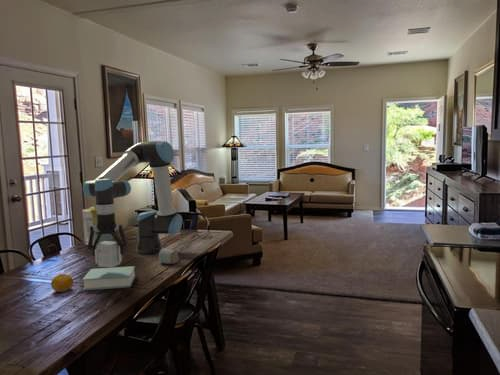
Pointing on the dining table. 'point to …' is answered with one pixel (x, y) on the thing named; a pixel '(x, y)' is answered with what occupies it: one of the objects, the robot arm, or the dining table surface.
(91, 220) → the juice carton
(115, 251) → the small box
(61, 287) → the fruit
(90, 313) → the dining table surface
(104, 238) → the teal cup
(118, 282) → the book
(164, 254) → the ceramic mug
